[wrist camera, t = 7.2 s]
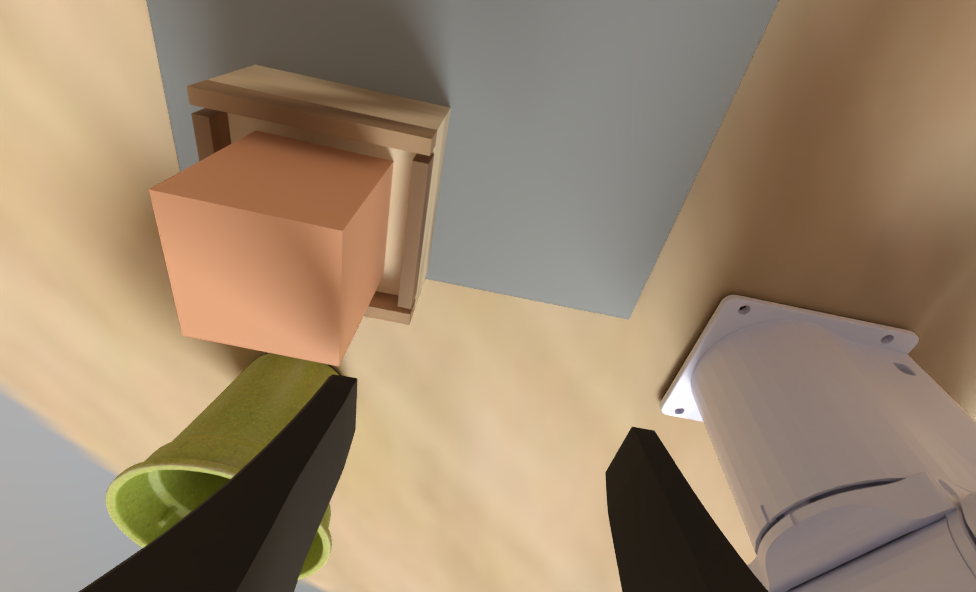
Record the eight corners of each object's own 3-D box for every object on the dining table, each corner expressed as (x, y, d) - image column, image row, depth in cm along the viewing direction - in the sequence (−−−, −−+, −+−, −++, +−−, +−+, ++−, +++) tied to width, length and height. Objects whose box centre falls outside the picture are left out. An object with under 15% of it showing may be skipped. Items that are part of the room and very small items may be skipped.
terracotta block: (393, 161, 15) (342, 231, 11) (383, 274, 17) (339, 366, 13) (255, 130, 15) (148, 189, 10) (265, 249, 17) (182, 335, 13)
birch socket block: (450, 107, 17) (431, 139, 13) (427, 269, 21) (409, 324, 17) (255, 64, 16) (186, 86, 13) (270, 238, 20) (220, 288, 17)
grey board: (873, -239, 12) (899, -256, 11) (625, 307, 22) (628, 319, 21) (85, -455, 11) (49, -491, 10) (204, 221, 21) (191, 231, 20)
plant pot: (289, 296, 23) (184, 435, 16) (413, 405, 27) (372, 556, 20) (187, 369, 27) (64, 510, 20) (309, 456, 31) (244, 600, 24)
